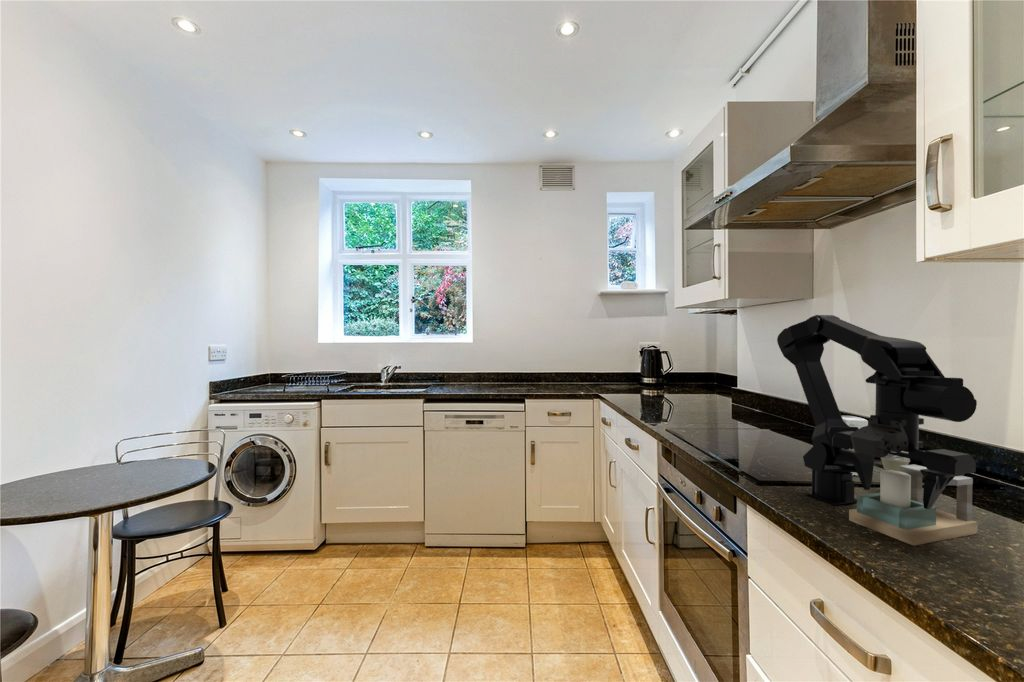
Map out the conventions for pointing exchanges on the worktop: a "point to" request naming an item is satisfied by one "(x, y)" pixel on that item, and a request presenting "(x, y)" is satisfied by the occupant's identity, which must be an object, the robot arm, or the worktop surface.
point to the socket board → (917, 513)
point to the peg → (895, 488)
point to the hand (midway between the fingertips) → (895, 498)
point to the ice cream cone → (894, 462)
